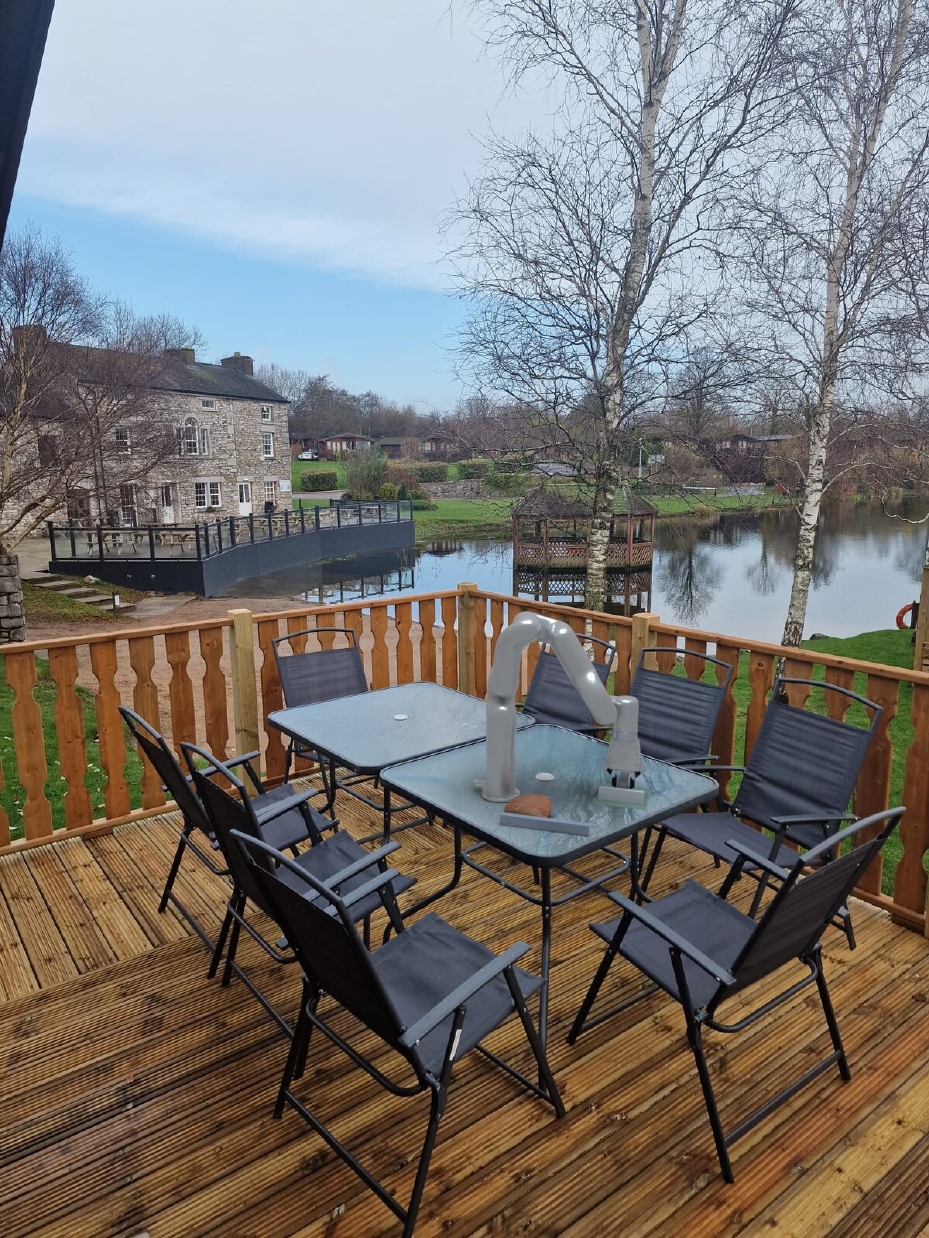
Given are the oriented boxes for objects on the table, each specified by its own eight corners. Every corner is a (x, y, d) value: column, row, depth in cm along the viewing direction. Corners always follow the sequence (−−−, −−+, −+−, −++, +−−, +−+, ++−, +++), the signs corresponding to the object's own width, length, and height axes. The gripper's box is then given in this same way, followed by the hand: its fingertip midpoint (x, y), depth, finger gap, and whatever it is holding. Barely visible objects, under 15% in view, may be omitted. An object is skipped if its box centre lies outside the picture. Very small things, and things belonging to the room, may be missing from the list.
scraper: (598, 799, 241) (598, 784, 240) (603, 783, 254) (603, 769, 253) (643, 804, 237) (644, 789, 236) (646, 788, 250) (646, 774, 249)
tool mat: (594, 804, 238) (594, 803, 238) (600, 783, 255) (600, 782, 255) (646, 811, 233) (646, 810, 233) (649, 789, 250) (649, 788, 250)
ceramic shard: (570, 796, 232) (543, 819, 221) (568, 813, 234) (542, 837, 223) (530, 779, 241) (502, 800, 230) (529, 796, 243) (501, 818, 232)
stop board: (499, 824, 224) (500, 814, 224) (501, 821, 226) (501, 812, 225) (588, 835, 217) (588, 826, 216) (589, 832, 219) (589, 823, 218)
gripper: (597, 735, 240) (595, 790, 243) (651, 741, 236) (649, 796, 239) (599, 728, 247) (597, 781, 251) (653, 733, 243) (650, 787, 246)
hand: (622, 788), depth 245 cm, fingers open, 4 cm apart
